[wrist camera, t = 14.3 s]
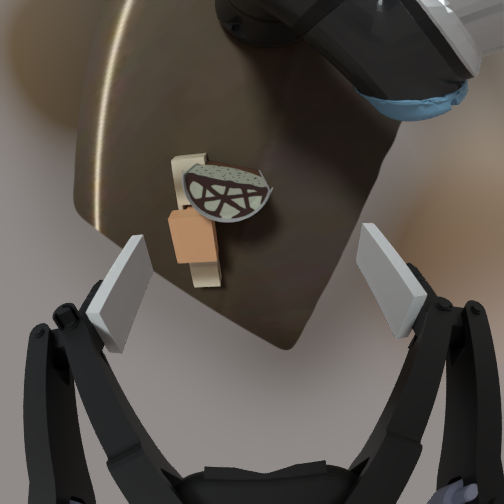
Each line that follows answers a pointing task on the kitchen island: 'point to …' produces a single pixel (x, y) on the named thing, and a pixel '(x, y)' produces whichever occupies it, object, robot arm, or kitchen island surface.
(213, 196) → the grey green half-round piece
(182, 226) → the tan toy stool
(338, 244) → the kitchen island surface
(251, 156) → the kitchen island surface
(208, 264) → the rail
